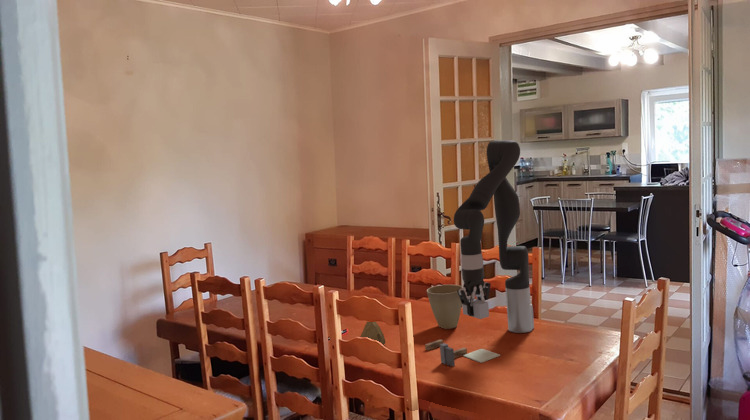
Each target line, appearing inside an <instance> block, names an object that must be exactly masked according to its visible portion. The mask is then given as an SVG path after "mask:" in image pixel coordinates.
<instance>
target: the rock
mask: <svg viewBox="0 0 750 420" xmlns="http://www.w3.org/2000/svg"><path fill="white" fill-rule="evenodd" d="M360 337H368V338H371V339H374V340H377V341H379V342H381V343H382V344H383V345H384V344H385V343H386V338H385V336H384V332H383V331H382V329H381V327H380V325H379V324H378V323H377V321H375V322H367V321H366V323H365V325H364V327H363V329H362V332H361V334H360Z"/></svg>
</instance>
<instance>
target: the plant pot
mask: <svg viewBox="0 0 750 420" xmlns="http://www.w3.org/2000/svg"><path fill="white" fill-rule="evenodd" d="M462 288H463V286H462V285H459V284H440V285H434V286H431V287H429V288H427V289H426V294H427V297H428V302H429V306H430V309H431V310H432V313H433V316H434V318H435V320H436V323H437V325H438V327H439V328H440V327H441V328H440V329H442V328H444V330H451V329H455V328H457V327H458V324H459V320H460V316H461V313H462V312H461V310H462V307H463V306H462V303H461V300H460V298H459V295H458V292H457V290H458V289H462Z"/></svg>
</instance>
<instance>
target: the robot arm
mask: <svg viewBox="0 0 750 420" xmlns="http://www.w3.org/2000/svg"><path fill="white" fill-rule="evenodd" d="M520 147H521V146H520V144H519V143H518V142H517V141H515V140H507V139H506V140H503V139H501V140H500V139H498V140H491V141H490V142H489V143H488V144H487V147H486V159H487V160H486V161H487V165H488V170H489V173H487V174H486V175H484V176H483V177H482V178H481V179H480V180H479V181H478V182H477V183H476V184H475V186H474V188H473V190H472V191H471V193H470V195H469V197H468V198H467V199H465V201H464V202H463V203H462V204H461V205H460V206H459V207H458V208H457V209H456V211H455V213H454V215H453V224H454V226H455V227H456V228H457V229H459V230H469V233H468V235H466V236H463V237H461V238H460V241H459V242H460V256H461V257H460V265H461V275H462V281H463V286H462V287H463V288H462V289H458V290H457V292H458V295H459V298H460V300H461V303H462V304H463V305H466V306H467V313H468V315H469V317H472V316H474V310H473V300H474V299H477V300H481V301H485V302H486V301H488V300H489V298H490V291H491V285H492V284H491V283H490V282H487V281H486V282H485V281H484V279H485V271H484V270H485V268H484V257H483V253H482V251H483V250H482V237H483V230H484V226H485V217H484V214H483V212H482V211H484V210H485V209H486V208H488V206H489V203H490V202H491V200H492V198H493V204H494V206H493V207H494V213H495V221H496V227H497V238H498V239H497V240H498V258H499V259H498V260H499V265H500V267H501V269H502V270H504V271H505V270H506V271H519V273H518V274H516V275H513V276H510V277H508V278H507V279H505V281H504V285H505V286H504V287H505V300H506V313H507V314H506V315H507V326H508V327H507V330H508V331H509V332H512V333H514V334H515V333H517V334H522V333H529V332H532V331H533V329H535V322H534V308H533V307H534V306H533V304H532V303H531V302H532V301H531V289H530V274H529V273H530V272H529V271H530V270H529V262H530V261H529V250H528V248H527V247H526V245H510V246H509V245H508V240H509V238H510V235H511V233H512V231H513V229H514V227H515V226H516V224H517V222H518V221H519V218H520V216H521V207H520V199H519V196H518V194H517V191H516V190H515V188H514V187H513V185H511V183H510V182H509V180H508V178H507V176H508V175H509V173H510V172H511V171H512V170H513V168H515V166H516V165H517V162H519V159H520V156H521V148H520ZM469 301H470V302H469ZM468 315H467V316H468Z"/></svg>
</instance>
